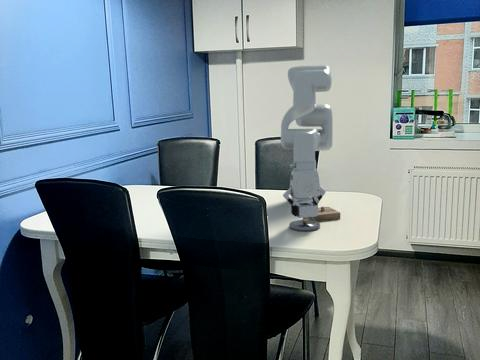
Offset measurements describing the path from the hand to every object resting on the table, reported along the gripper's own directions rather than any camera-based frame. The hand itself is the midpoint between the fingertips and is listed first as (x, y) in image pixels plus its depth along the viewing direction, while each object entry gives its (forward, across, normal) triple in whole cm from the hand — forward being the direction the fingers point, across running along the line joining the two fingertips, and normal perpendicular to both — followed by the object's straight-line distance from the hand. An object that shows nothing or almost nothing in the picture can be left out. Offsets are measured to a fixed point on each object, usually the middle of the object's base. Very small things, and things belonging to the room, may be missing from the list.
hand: (304, 214), depth 174 cm
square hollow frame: (0, 0, 0) cm, 0 cm away
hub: (+5, 0, 0) cm, 5 cm away
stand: (+5, +12, +10) cm, 16 cm away
